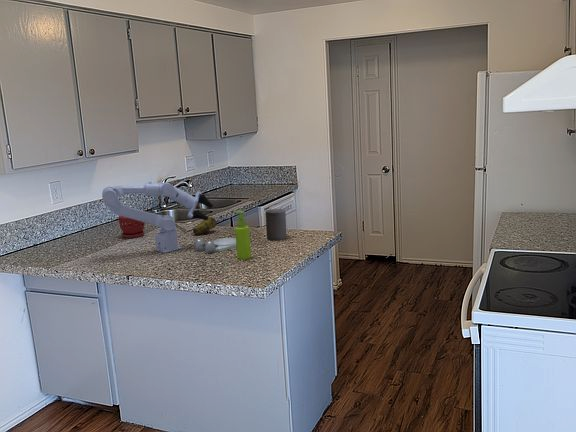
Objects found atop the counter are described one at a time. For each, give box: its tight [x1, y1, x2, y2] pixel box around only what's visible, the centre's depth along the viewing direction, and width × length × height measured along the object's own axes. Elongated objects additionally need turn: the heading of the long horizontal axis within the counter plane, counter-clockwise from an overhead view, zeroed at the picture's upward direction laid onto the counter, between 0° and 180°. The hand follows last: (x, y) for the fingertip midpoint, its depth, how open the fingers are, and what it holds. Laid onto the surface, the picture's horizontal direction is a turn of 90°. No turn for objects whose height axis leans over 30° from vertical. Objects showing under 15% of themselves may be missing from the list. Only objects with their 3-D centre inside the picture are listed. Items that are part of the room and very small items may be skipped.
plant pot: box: [118, 215, 146, 239], centre depth 291 cm, size 13×13×12 cm
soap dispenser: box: [232, 210, 252, 260], centre depth 234 cm, size 6×7×20 cm
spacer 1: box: [194, 238, 205, 252], centre depth 253 cm, size 4×4×5 cm
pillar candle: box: [264, 208, 288, 242], centre depth 265 cm, size 10×10×15 cm
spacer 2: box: [204, 240, 216, 255], centre depth 247 cm, size 4×4×5 cm
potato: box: [192, 216, 217, 236], centre depth 288 cm, size 8×13×8 cm, turn 111°
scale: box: [204, 237, 237, 253], centre depth 259 cm, size 16×15×2 cm
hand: (209, 212), depth 261 cm, fingers open, 7 cm apart
